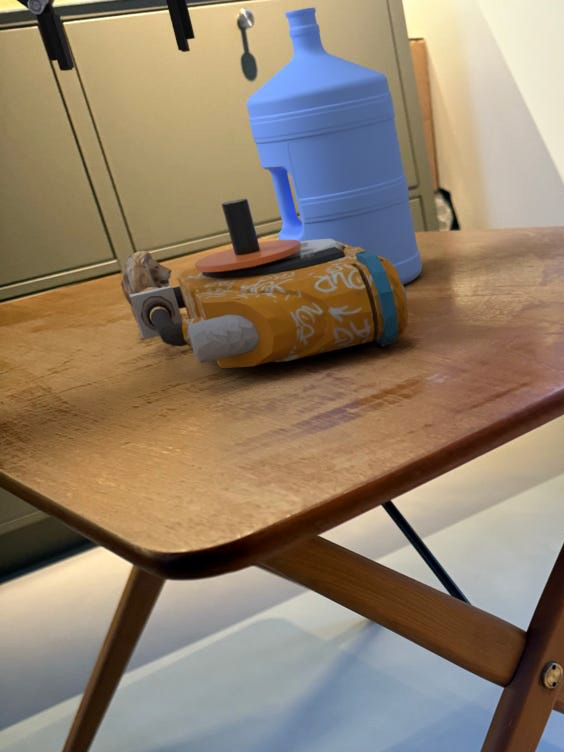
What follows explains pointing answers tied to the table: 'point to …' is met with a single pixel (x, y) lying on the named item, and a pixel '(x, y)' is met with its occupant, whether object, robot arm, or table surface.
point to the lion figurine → (142, 276)
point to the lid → (245, 243)
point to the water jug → (334, 151)
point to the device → (279, 307)
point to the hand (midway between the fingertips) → (126, 60)
